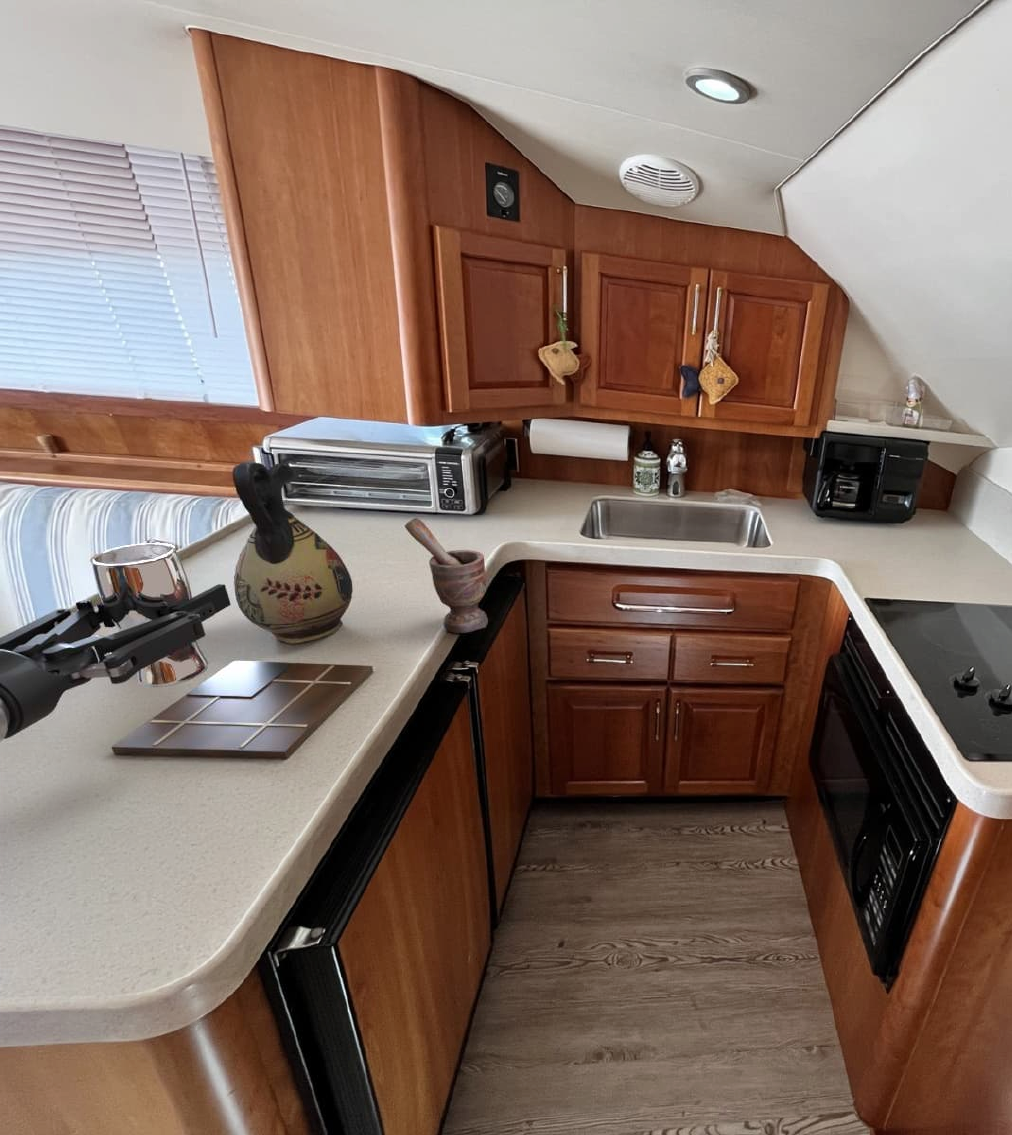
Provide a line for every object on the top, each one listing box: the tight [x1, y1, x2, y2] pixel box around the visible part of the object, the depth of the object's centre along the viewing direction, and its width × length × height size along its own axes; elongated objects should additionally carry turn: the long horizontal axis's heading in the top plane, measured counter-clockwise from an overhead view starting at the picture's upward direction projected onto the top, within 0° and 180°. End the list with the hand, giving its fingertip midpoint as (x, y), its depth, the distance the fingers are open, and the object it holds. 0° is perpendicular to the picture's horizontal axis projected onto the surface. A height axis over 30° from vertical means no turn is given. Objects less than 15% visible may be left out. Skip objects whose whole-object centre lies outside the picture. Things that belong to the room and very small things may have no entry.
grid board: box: [110, 660, 374, 760], centre depth 83 cm, size 20×20×1 cm
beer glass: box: [89, 542, 209, 688], centre depth 67 cm, size 7×7×15 cm
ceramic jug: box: [231, 461, 354, 659], centre depth 96 cm, size 17×15×30 cm
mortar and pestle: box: [404, 517, 489, 634], centre depth 104 cm, size 12×9×20 cm
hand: (190, 593), depth 71 cm, fingers closed on beer glass, 7 cm apart
